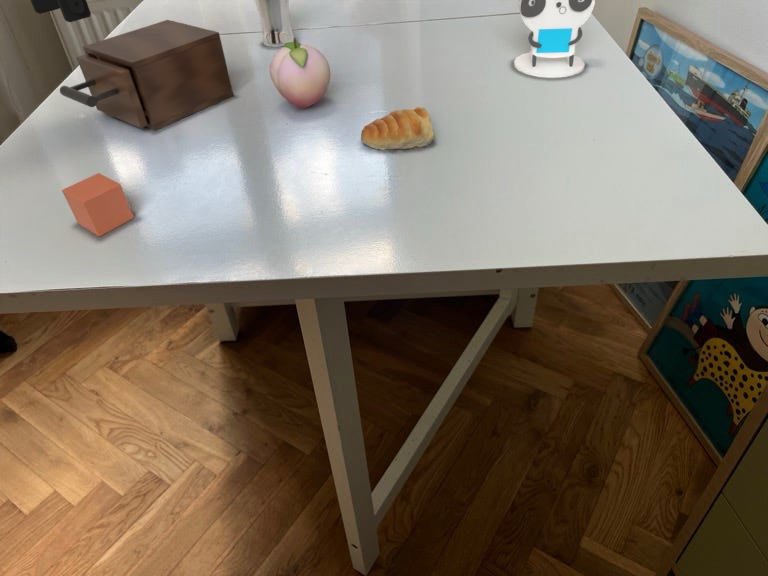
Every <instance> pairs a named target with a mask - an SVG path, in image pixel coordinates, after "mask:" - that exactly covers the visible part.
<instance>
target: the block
mask: <svg viewBox="0 0 768 576" xmlns="http://www.w3.org/2000/svg"><path fill="white" fill-rule="evenodd" d="M61 192H62V194H63V197H64V199H65V200H66V202H67V204H68V206H69V208H70V210H71V212H72V214H73V216H74V218H75V220H76V222H77V224H78V225H79V226H82V228H84V229H86V230H88V231H89V232H91V233H93V234H94V235H96V236H98V237H101V236H103V235H105V234H107V233H110V232H111V231H112V230H114V229H116V228H118V227H120V226H122V225H123V224H125V223H128V222H129V221H131V220H133V219H135V216H134V214H133V211H132V209H131V206H130V204H129V202H128V199H127V197H126V194H125V192H124V189H123V187H122V184H121V183H119V182H117V181H115V180H113V179H111V178H109V177H107V176H106V175H104V174H102V173H99V172H97V173H95V174H93V175H91V176H89V177H87V178H84V179H82V180H80V181H78V182H76V183H74V184H71V185H69V186H67V187H65V188H63V189H61Z"/></svg>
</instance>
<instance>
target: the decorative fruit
mask: <svg viewBox="0 0 768 576" xmlns="http://www.w3.org/2000/svg"><path fill="white" fill-rule="evenodd" d="M293 40H294V41H293V42H287V43H285V44H284V46H282V48H281V47H280V49H278V50H277V51H276V52H275V53H274V54H273V56H272V58H271V60H270V64H269V76H270V79H271V81H272V83H273V85H274V87H275V89H276V91H278V94H280V95H281V96H282V97H283V98H284V99H285V100H286V101H287V102H289V104H291V105H293V106H295V107H297V108H299V109H306V108H309V107H311V106H312V105H315V104H316V103H317V102H318V101H320V100H321V99H322V98H323V96H324V95H325V93H326V92H327V90H328V88H329V86H330V82H331V67H330V64H329V62H328V60H327V58H326V57H325V55H324V54H323V53H322V52H321V51H320V50H318V49H317V48H316V47H313V46H312V45H309V44H302V43H301V42H299V41H297V39H296V38H295V37H294V38H293Z"/></svg>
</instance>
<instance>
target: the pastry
mask: <svg viewBox="0 0 768 576" xmlns="http://www.w3.org/2000/svg"><path fill="white" fill-rule="evenodd" d="M434 139H435V130H434V127H433V123H432V121H431V117H430V113H429V112H428V110H427V109H426V108H425V107H421V106H416V108H415V109H402V110H393V111H391V112H390V113H389V114H386V115H385V116H382V117H381V118H377V119H375V120H373V121H372V122H370V123H368V124H366V125H365V126H364V127H363V129H362V130H361V134H360V140H361V142H362V143H363V144H365V145H366V146H368V147H370V148H372V149H376V150H381V151H385V150H392V151H393V150H407V149H413V148H415V147H418V148H422V147H425V146H428V145H430V144H432V142H433V140H434Z"/></svg>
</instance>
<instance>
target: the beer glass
mask: <svg viewBox="0 0 768 576" xmlns="http://www.w3.org/2000/svg"><path fill="white" fill-rule="evenodd" d="M254 4H255V7H256V10H257V12H258V15H259V16H258V17H259V18H260V22H261V23H260V24H261V31H262V36H261V37H262V38H261V39H262V44H263V45H264V46H265V47H269V48H281V47H285V46H284V44H285V43H287V42H293V41H294V40H293V38H295V37H294V32H293V30H292V26H291V21H290V0H254Z"/></svg>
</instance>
